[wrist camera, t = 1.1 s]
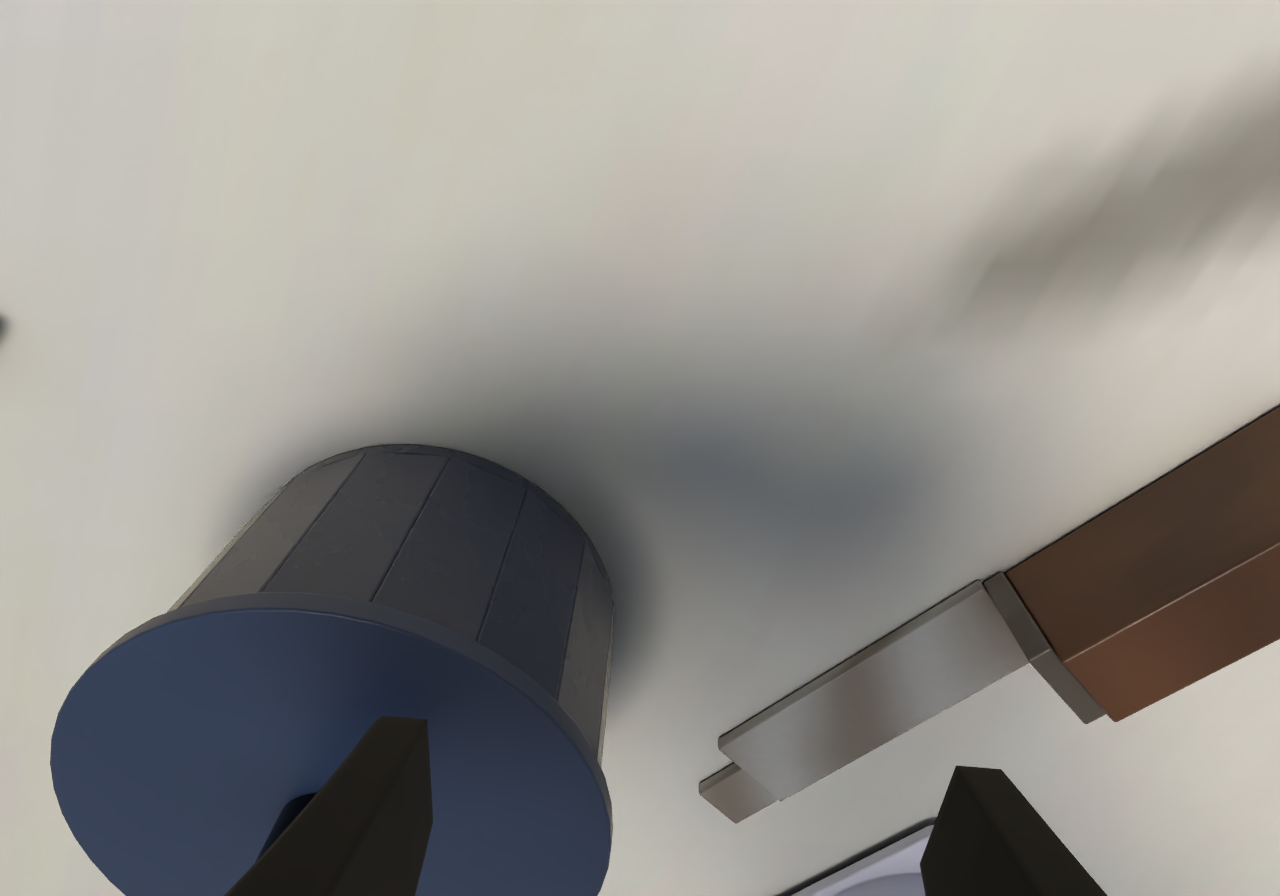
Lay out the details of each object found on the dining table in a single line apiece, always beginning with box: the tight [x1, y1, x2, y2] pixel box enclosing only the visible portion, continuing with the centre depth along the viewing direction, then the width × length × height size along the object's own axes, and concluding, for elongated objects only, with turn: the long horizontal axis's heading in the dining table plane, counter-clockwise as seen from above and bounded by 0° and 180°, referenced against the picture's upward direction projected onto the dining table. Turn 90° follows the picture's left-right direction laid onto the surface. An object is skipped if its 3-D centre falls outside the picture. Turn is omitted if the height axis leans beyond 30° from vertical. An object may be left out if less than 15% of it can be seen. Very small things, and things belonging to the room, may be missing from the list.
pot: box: [167, 445, 614, 767], centre depth 19 cm, size 10×10×6 cm
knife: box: [699, 407, 1280, 823], centre depth 20 cm, size 19×3×3 cm, turn 133°
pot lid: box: [50, 592, 613, 896], centre depth 15 cm, size 11×11×4 cm
